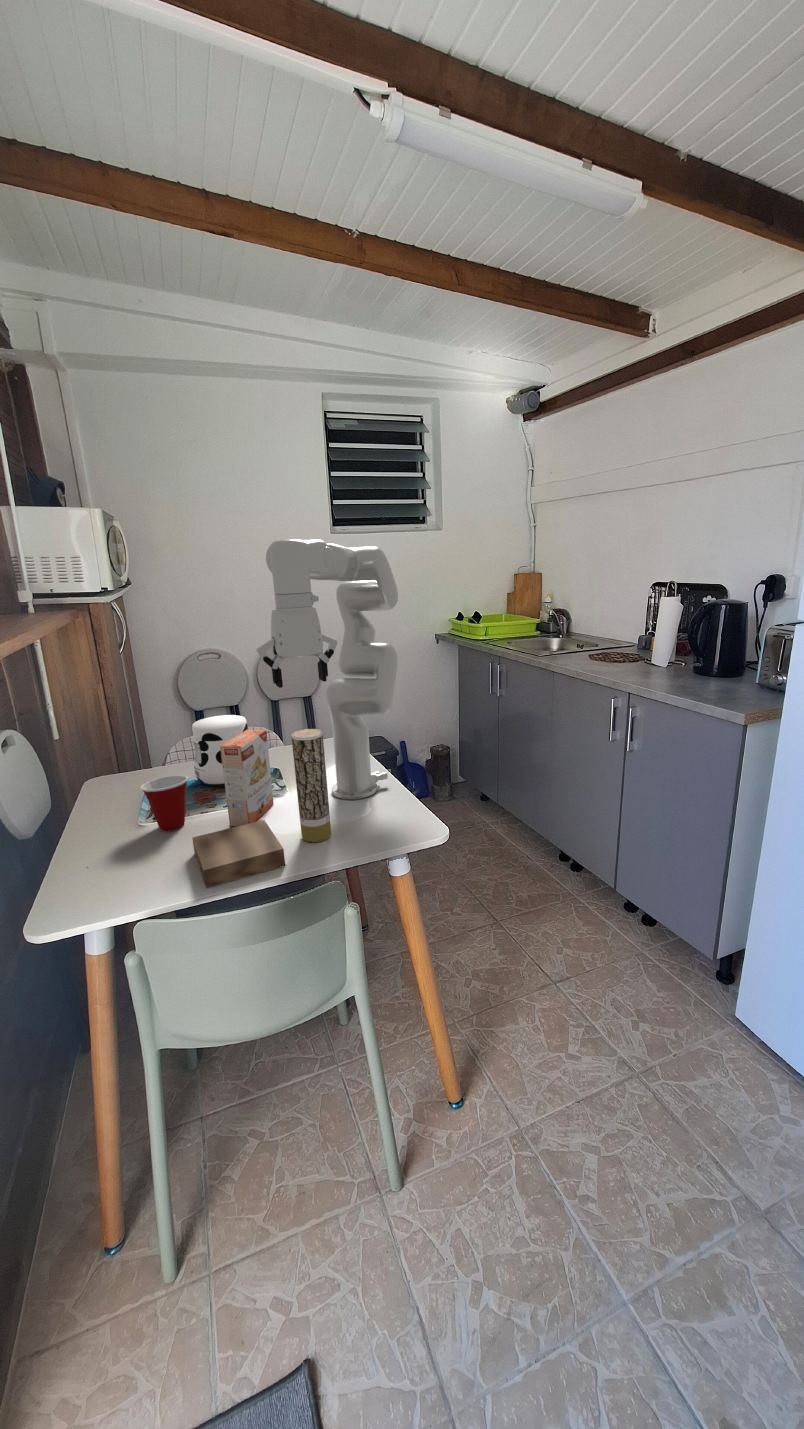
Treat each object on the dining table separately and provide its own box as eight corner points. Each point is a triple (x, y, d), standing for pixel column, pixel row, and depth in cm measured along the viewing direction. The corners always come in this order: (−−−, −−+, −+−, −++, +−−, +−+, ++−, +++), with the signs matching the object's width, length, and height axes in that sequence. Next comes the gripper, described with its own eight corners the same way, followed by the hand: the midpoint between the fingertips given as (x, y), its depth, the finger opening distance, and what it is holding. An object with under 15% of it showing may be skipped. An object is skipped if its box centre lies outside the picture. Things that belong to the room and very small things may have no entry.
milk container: (266, 770, 173) (260, 714, 168) (238, 792, 157) (230, 731, 152) (216, 767, 177) (209, 713, 172) (184, 789, 161) (175, 729, 156)
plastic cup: (183, 812, 145) (177, 769, 142) (202, 824, 137) (195, 779, 134) (141, 827, 138) (132, 782, 135) (158, 840, 130) (150, 793, 127)
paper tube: (307, 846, 124) (296, 740, 118) (298, 834, 130) (287, 732, 124) (335, 838, 127) (326, 734, 121) (325, 827, 133) (316, 727, 127)
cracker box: (251, 828, 134) (241, 746, 129) (229, 827, 136) (217, 745, 130) (275, 804, 148) (267, 728, 142) (254, 803, 149) (245, 728, 143)
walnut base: (266, 835, 130) (264, 819, 129) (285, 865, 117) (283, 848, 116) (194, 853, 123) (192, 837, 122) (206, 888, 110) (203, 870, 109)
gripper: (327, 598, 122) (333, 675, 126) (247, 604, 114) (257, 686, 119) (339, 600, 115) (345, 681, 120) (256, 606, 108) (265, 692, 112)
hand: (301, 683), depth 119 cm, fingers open, 9 cm apart
